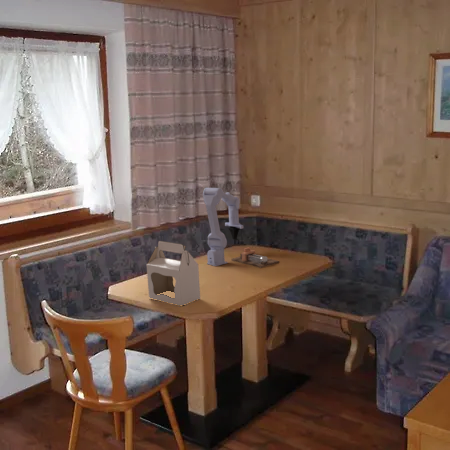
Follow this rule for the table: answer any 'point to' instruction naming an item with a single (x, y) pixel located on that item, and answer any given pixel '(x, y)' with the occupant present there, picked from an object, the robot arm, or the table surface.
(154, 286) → the gable box
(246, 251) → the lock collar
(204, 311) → the table surface
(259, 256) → the tongs arm
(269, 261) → the walnut board
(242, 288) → the table surface
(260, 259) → the base
